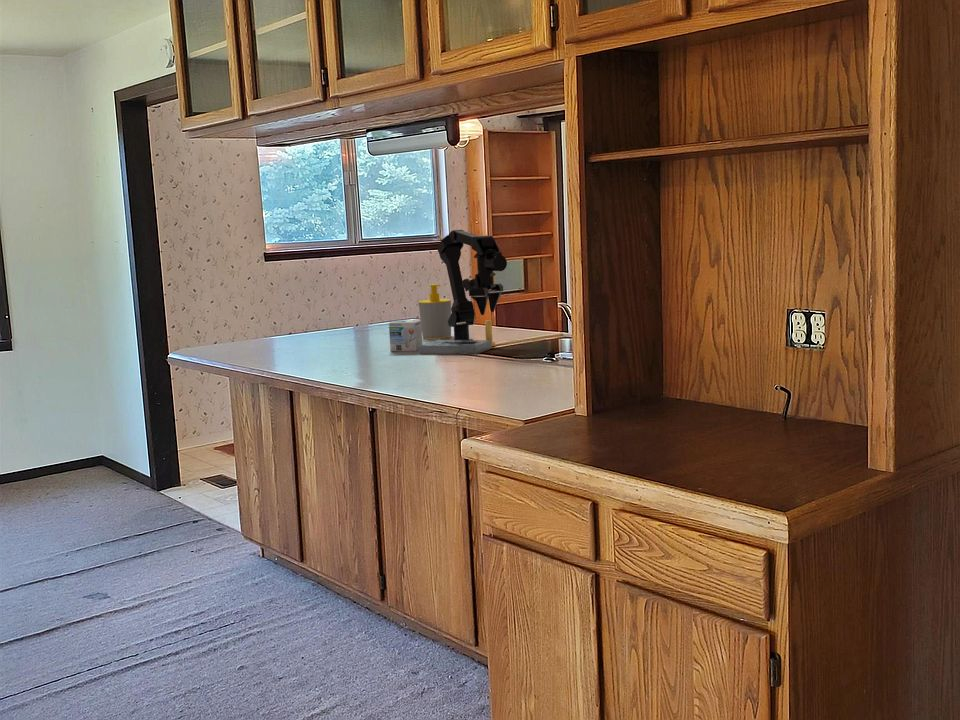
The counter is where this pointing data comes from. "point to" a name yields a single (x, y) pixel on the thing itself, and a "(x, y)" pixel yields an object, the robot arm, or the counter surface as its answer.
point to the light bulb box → (405, 335)
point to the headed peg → (489, 331)
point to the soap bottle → (435, 316)
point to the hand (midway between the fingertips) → (487, 313)
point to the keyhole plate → (456, 347)
